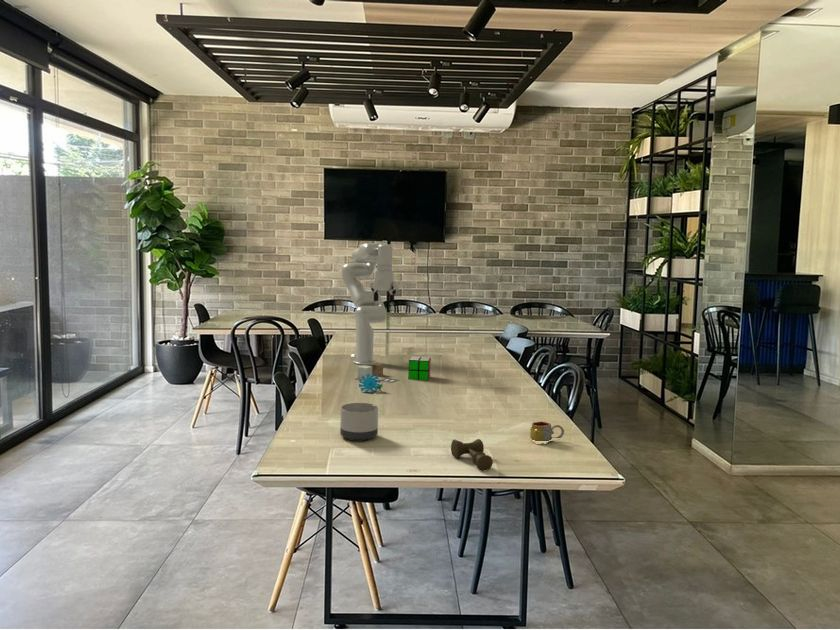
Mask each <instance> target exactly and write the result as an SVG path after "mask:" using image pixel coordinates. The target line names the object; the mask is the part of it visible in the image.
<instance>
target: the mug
mask: <svg viewBox="0 0 840 630" xmlns="http://www.w3.org/2000/svg"><path fill="white" fill-rule="evenodd" d="M555 428H560V430H561V432H560V434H559V435H558V436H555V437H553V436H552V435H554V433H555V431H554V429H555ZM529 430H530V433H529V438H531V439H532V440H535V441H549V440H551V439H552V438H560V439H561V438H562V437H564V434H565V430H564V428H563V426H561V425H559V424H555V425H553V426H552V424H551V423H549V422H547V421H537V422H536V421H533V422H532V423H531V427H530V428H529Z"/></svg>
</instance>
